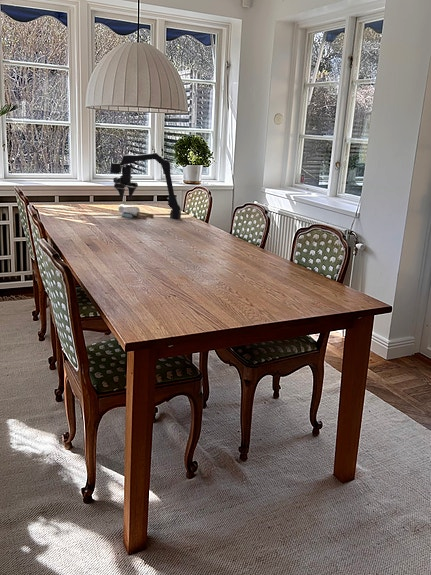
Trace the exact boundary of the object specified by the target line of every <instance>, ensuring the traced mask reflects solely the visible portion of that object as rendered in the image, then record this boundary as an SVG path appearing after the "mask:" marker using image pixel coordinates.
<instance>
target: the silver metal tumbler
mask: <svg viewBox="0 0 431 575" xmlns="http://www.w3.org/2000/svg"><path fill="white" fill-rule="evenodd" d="M118 212H119V214H122V213H126V214H132V215H135V216H138V215H139V212H141V211H140V208H139V207H138V206H132V205H126V204H125V205H124V204H120V205H119V207H118Z"/></svg>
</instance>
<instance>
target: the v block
mask: <svg viewBox="0 0 431 575" xmlns="http://www.w3.org/2000/svg"><path fill="white" fill-rule="evenodd" d="M121 214H122V215H121V217H122V218H128V219H131V220H132V219H138V218H137V216H135V215H132V214H126V213H121Z"/></svg>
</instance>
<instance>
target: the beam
mask: <svg viewBox="0 0 431 575" xmlns="http://www.w3.org/2000/svg"><path fill="white" fill-rule="evenodd" d="M120 215H121V216H122V213H120ZM136 219H142V220H148V219H154V213H149V212H143V211H140V212H139V215H138V216H137V218H136Z"/></svg>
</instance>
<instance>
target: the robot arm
mask: <svg viewBox="0 0 431 575" xmlns="http://www.w3.org/2000/svg"><path fill="white" fill-rule="evenodd" d="M121 160H122V161H120V162H119V163H117V162H116V163H115V162H111V164H110V174H115V175H120V173H121V175H120V177H119V178H118V177H113V180H112V181H113V188H114V189H115V190H117V191H118V193H119V197H120V199H121V200H123V198H124V194H125V190H126V187H127V189H128V198H130V199H131V198H132V196H133V194H134V192H135V191H136V189H137V188H138V186H139V184H138V182H136V181H135V182H133V181H131V180H132V179H133V176H132V169H134V168H135V167H134V165H133V164H132V163H135V162H136V163H137V162H141V161H151V160H155V161H156V162H157V163H158V164H160V165H161V168H162V172H163V173H164V178H165V181H166V182H165V183H166V186H167V191H168V197H166V201H167V206H169V208H171V209H170V212H169V218H170V219H172V220H181V219H182V218H181V217H182V210H181V206H180V205H179V203H178V200H177V198H176V195H175V192H174V187H173V182H172V176H171V163H170V160H168V159H165V158H163V157H162V156H161V155H159V153H157V152H154V153H145V154H125V155H123V156H122V159H121Z"/></svg>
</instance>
